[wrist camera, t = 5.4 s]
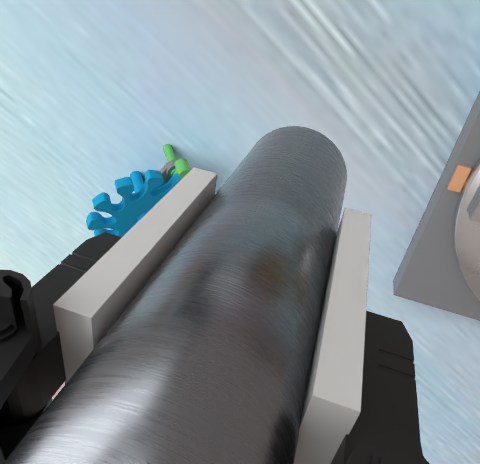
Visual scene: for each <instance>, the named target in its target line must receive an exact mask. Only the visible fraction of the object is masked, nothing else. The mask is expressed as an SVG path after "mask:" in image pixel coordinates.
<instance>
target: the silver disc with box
mask: <svg viewBox="0 0 480 464" xmlns="http://www.w3.org/2000/svg"><path fill="white" fill-rule="evenodd" d="M453 236H454V247H455V250H456V254H457V258H458V262H459V265H460V269H461V272H462V274H463V276H464V278H465V280H466V283H467V284H468V286H469V287H470V289H471V290H472V292H473V293H474V295H475V296H476V297H477V298H478V300H479V301H480V159H479V160H478V161H477V163H476V164H475V166H474V167H473V169H472V171H471V173H470V174H469V176H468V178H467V179H466V181H465V184H464V186H463V188H462V191H461V193H460V196H459V198H458V202H457V206H456V210H455V215H454V226H453Z"/></svg>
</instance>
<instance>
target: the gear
mask: <svg viewBox="0 0 480 464" xmlns="http://www.w3.org/2000/svg"><path fill="white" fill-rule="evenodd" d="M163 150H164V152H165V155H166V157H167V160H168V163H167V164H166V165H165V166H164V167H163V168H162V169H161V170H160V171H155V170H148V171H147V172H146V173H145V182H144V181H143V178H142V175H141V173H140V172H139V171H134V172H132V173H131V174H130V177H125V178H121V179H118V180H115V186H116V190H117V193H118V194H120V195H121V196H122V197H123V198H122V201H121V202H120V203H119V204H111V201H110V197H109V195H108V194H107V193H101V194H99V195H97V196H96V197H95V198H94V199H93V200H92V201H93V205H94V209H95V210H97V211H101V212H106V213H109V214H111V215H112V217H109V218H104V217H103V216H101V215H100V214H99V213H97V212H91V213H90V214H89V215H88V217H87V220H86V222H87V227H88V229H89V230H95V231H94V234H95V236H97V235H99V234H102V233H104V232H107V233H110V234H113V235H116V236H120V237H123V236H124V235H125V234H126V233H127V232H128V231H129V230H130V229H131V228H132V227H133V226H134V225H135V224H136V223H137V222H138V221H139V220H141V219H142V218H143V217H144V216H145V215H146V214H147V213H148V212H149V211H150V210H151V209H152V208H153V207H154V206H155V205H156V204H157V203H158V202H159V201H160V200H161V199H162V198H163V197H164V196H165V195H166V194H167V193H168V192H169V191H170V190H171V189H172V188H173V187H174V186H175V185H176V184H177V183H178V182H179V181H181V180H182V179H183V178H184V177H185V176H186V175H187V174H188V173H189V172H190V171H191V170H190V168H189V165H188V163H187V161H186V159H183V158H181V159H176V157H175V154H174V152H173V149H172V147H171V145H170V144H166V145H164V146H163ZM133 191H135V193H133V194H131V193H132V192H133ZM102 228H110V229H112V230H107V229H102Z"/></svg>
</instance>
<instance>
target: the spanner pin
mask: <svg viewBox="0 0 480 464" xmlns="http://www.w3.org/2000/svg"><path fill="white" fill-rule="evenodd" d="M346 181H347V170H346V165H345V162H344V159H343V157H342V155H341V153H340V151H339V150H338V148H337V147H336V146H335V144H334V143H333V142H332V141H331V140H329V139H328V138H327V137H326V136H324V135H323V134H321V133H319V132H317V131H315V130H312V129H309V128H305V127H298V126H290V127H283V128H279V129H276V130H274V131H272V132H270V133H268V134H266V135H265V136H264V137H262V138H261V139H260V140H259V141H258V142H257V143H256V145H255V146H254V147H253V148H252V150H251V151H250V152H249V153H248V155H247V156H246V157H245V158H244V160H243V161H242V162H241V163H240V165H239V166H238V167H237V169H236V170H235V171H234V172H233V174H232V175H231V176H230V177H229V179H228V180H227V181H226V182H225V184H224V185H223V186H222V187H221V189H220V190H219V191H218V193H217V194H216V195H215V196H214V198H213V199H212V200H211V201H210V203H209V204H208V205H207V206H206V208H205V209H204V210H203V211H202V213H201V214H200V215H199V217H198V218H197V219H196V220H195V222H194V223H193V224H192V225H191V227H190V228H189V229H188V230H187V232H186V233H185V234H184V235H183V237H182V238H181V239H180V241H179V242H178V243H177V244H176V246H175V247H174V248H173V249H172V251H171V252H170V253H169V254H168V256H167V257H166V258H165V259H164V261H163V262H162V263H161V264H160V266H159V267H158V268H157V270H156V271H155V272H154V273H153V275H152V276H151V277H150V278H149V280H148V281H147V282H146V283H145V285H144V286H143V287H142V288H141V290H140V291H139V292H138V294H137V295H136V296H135V297H134V299H133V300H132V301H131V302H130V304H129V305H128V306H127V307H126V309H125V310H124V311H123V312H122V314H121V315H120V316H119V318H118V319H117V320H116V321H115V323H114V324H113V325H112V326H111V328H110V329H109V330H108V331H107V333H106V334H105V335H104V336H103V338H102V339H101V340H100V342H99V343H98V344H97V345H96V347H95V348H94V349H93V350H92V352H91V353H90V354H89V355H88V357H87V358H86V359H85V360H84V362H83V363H82V364H81V366H80V367H79V368H78V369H77V371H76V372H75V373H74V374H73V376H72V377H71V378H70V379H69V381H68V382H67V383H66V384H65V386H64V387H63V388H62V390H61V391H60V392H59V393H58V395H57V396H56V397H55V398H54V400H53V401H52V402H51V403H50V405H49V406H48V407H47V408H46V410H45V411H44V412H43V413H42V415H41V416H40V417H39V419H38V420H37V421H36V422H35V424H34V425H33V426H32V427H31V429H30V430H29V431H28V432H27V434H26V435H25V436H24V437H23V439H22V440H21V441H20V443H19V444H18V445H17V446H16V448H15V449H14V450H13V451H12V453H11V454H10V455H9V456H8V458H7V459H6V460H5V461H4V463H3V464H294V459H295V454H296V448H297V443H298V438H299V428H300V423H301V417H302V412H303V407H304V402H305V396H306V391H307V386H308V381H309V375H310V370H311V365H312V360H313V354H314V349H315V344H316V338H317V333H318V328H319V323H320V317H321V312H322V307H323V302H324V296H325V291H326V286H327V281H328V275H329V270H330V265H331V260H332V254H333V249H334V244H335V239H336V234H337V230H338V225H339V220H340V214H341V209H342V204H343V198H344V193H345V188H346Z"/></svg>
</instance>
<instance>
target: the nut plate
mask: <svg viewBox="0 0 480 464" xmlns="http://www.w3.org/2000/svg"><path fill="white" fill-rule="evenodd" d="M479 159H480V92H479V94H478V96H477V98H476V101H475V103H474V105H473V107H472V109H471V112H470V114H469V116H468V118H467V120H466V123H465V125H464V127H463V129H462V131H461V134H460V136H459V138H458V140H457V142H456V145H455V147H454V149H453V151H452V153H451V155H450V158H449V160H448V162H447V164H446V166H445V169H444V171H443V173H442V175H441V177H440V180H439V182H438V184H437V186H436V188H435V191H434V193H433V195H432V197H431V199H430V202H429V204H428V206H427V208H426V210H425V212H424V215H423V217H422V219H421V221H420V223H419V226H418V228H417V230H416V232H415V234H414V237H413V239H412V241H411V243H410V245H409V248H408V250H407V252H406V254H405V256H404V259H403V261H402V263H401V265H400V267H399V269H398V272H397V274H396V276H395V278H394V280H393V284H394V295H396V296H399V297H403V298H406V299H410V300H413V301H416V302H420V303H423V304H426V305H430V306H433V307H436V308H440V309H443V310H446V311H450V312H453V313H456V314H460V315H463V316H466V317H470V318H473V319H476V320H480V301H479V300H478V298H477V297H476V296H475V295H474V293H473V292H472V290H471V289H470V287H469V286H468V284H467V283H466V280H465V278H464V276H463V274H462V272H461V269H460V265H459V262H458V258H457V254H456V250H455V247H454V236H453V226H454V215H455V210H456V206H457V202H458V198H459V196H460V193H461V191H462V188H463V186H464V184H465V181H466V179H467V178H468V176H469V174H470V173H471V171H472V169H473V167H474V166H475V164H476V163H477V161H478V160H479Z"/></svg>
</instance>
